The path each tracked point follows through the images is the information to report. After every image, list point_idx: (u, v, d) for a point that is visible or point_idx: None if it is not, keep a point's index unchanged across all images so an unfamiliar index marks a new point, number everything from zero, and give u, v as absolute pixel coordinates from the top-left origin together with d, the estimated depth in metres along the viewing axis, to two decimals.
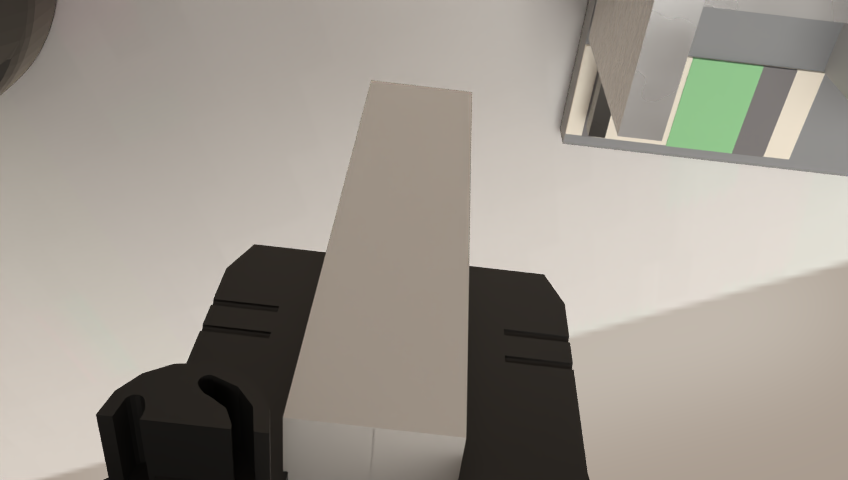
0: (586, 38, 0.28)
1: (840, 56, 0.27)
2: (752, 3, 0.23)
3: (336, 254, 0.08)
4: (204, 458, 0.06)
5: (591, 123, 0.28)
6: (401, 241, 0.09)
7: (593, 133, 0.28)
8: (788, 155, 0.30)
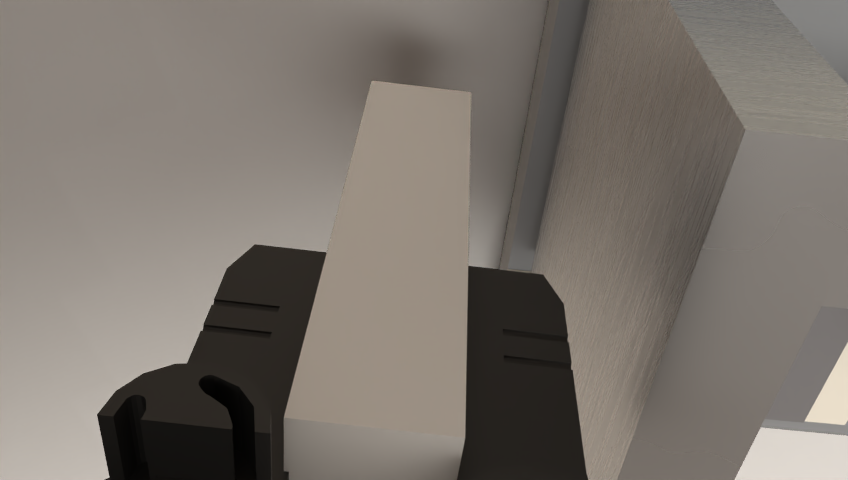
0: (508, 260, 0.17)
1: None
2: (837, 293, 0.11)
3: (337, 254, 0.08)
4: (205, 457, 0.06)
5: None
6: (400, 241, 0.09)
7: None
8: (844, 420, 0.19)
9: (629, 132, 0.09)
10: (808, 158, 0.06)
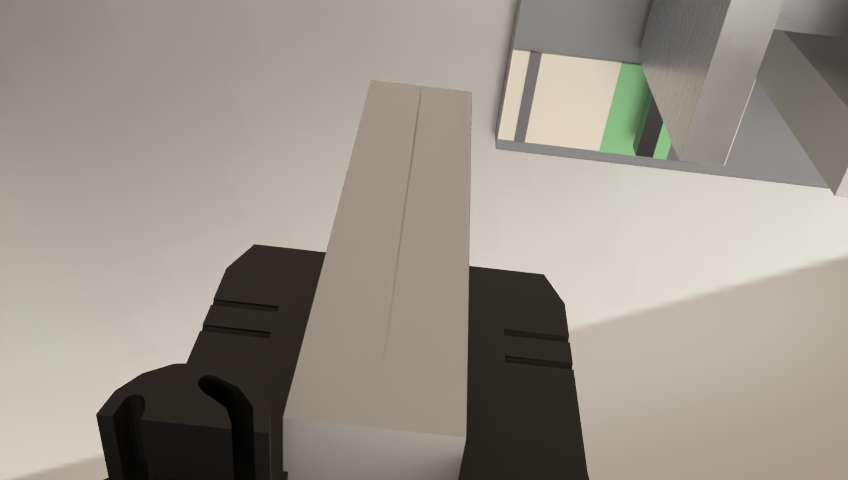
0: (514, 42, 0.28)
1: (769, 61, 0.27)
2: (813, 25, 0.23)
3: (336, 254, 0.08)
4: (203, 457, 0.06)
5: (639, 143, 0.28)
6: (401, 241, 0.09)
7: (641, 153, 0.28)
8: None
9: None
10: None
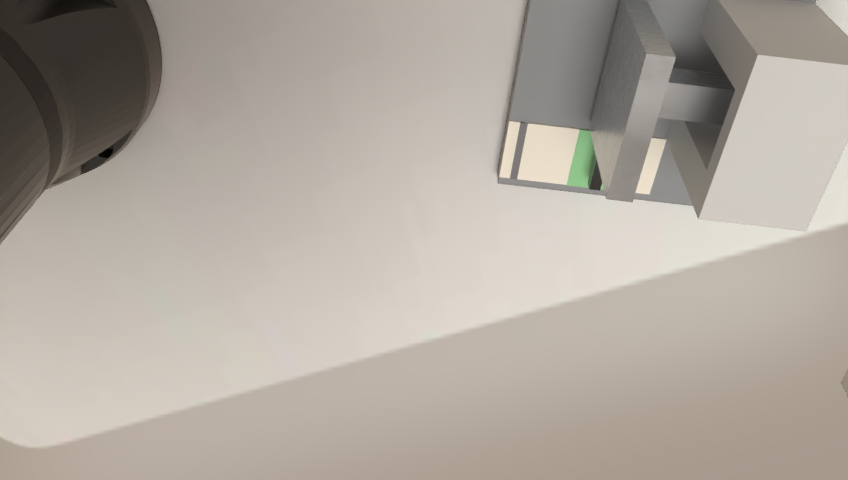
0: (509, 116, 0.43)
1: (673, 130, 0.42)
2: (688, 116, 0.38)
3: None
4: None
5: (591, 181, 0.43)
6: None
7: (592, 187, 0.43)
8: (648, 191, 0.45)
9: (625, 62, 0.36)
10: (658, 59, 0.33)
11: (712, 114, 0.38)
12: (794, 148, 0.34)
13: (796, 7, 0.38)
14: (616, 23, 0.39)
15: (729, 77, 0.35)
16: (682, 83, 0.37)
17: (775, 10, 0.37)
